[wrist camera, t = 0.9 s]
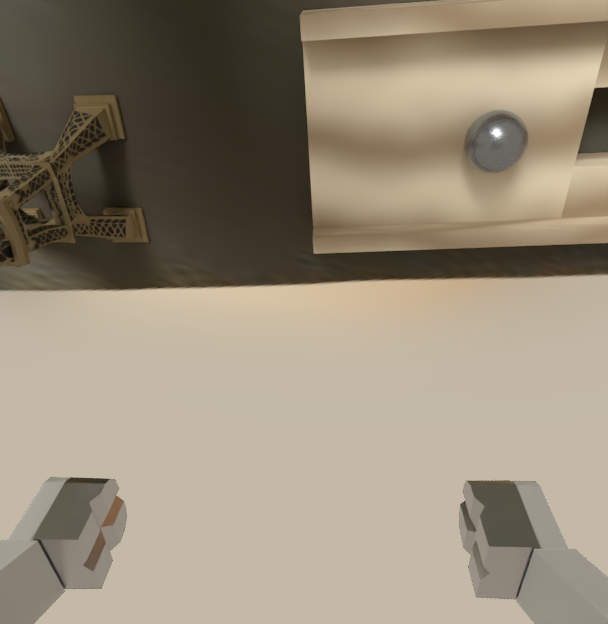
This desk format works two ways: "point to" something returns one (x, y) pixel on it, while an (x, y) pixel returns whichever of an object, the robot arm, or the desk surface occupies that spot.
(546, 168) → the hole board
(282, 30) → the desk surface
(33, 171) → the eiffel tower
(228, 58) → the desk surface
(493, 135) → the steel ball
